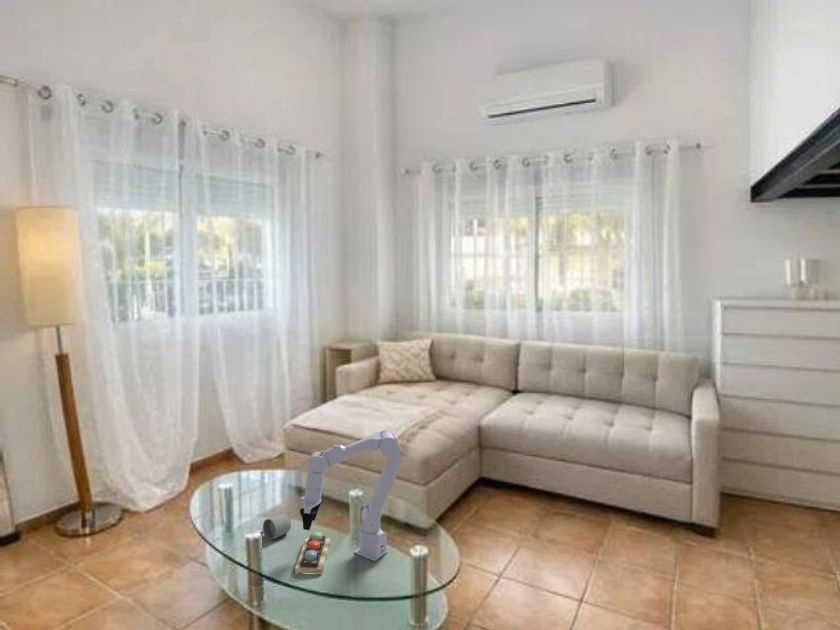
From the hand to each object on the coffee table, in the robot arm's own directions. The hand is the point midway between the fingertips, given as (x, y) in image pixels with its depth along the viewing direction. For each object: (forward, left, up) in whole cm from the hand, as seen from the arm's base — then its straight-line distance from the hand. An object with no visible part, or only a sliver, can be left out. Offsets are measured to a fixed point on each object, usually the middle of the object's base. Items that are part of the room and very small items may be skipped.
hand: (309, 524), depth 186 cm
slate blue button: (-6, +5, -8) cm, 12 cm away
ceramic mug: (+21, -3, -12) cm, 24 cm away
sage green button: (+1, -5, -8) cm, 10 cm away
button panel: (-3, 0, -11) cm, 12 cm away
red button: (-3, 0, -8) cm, 8 cm away
